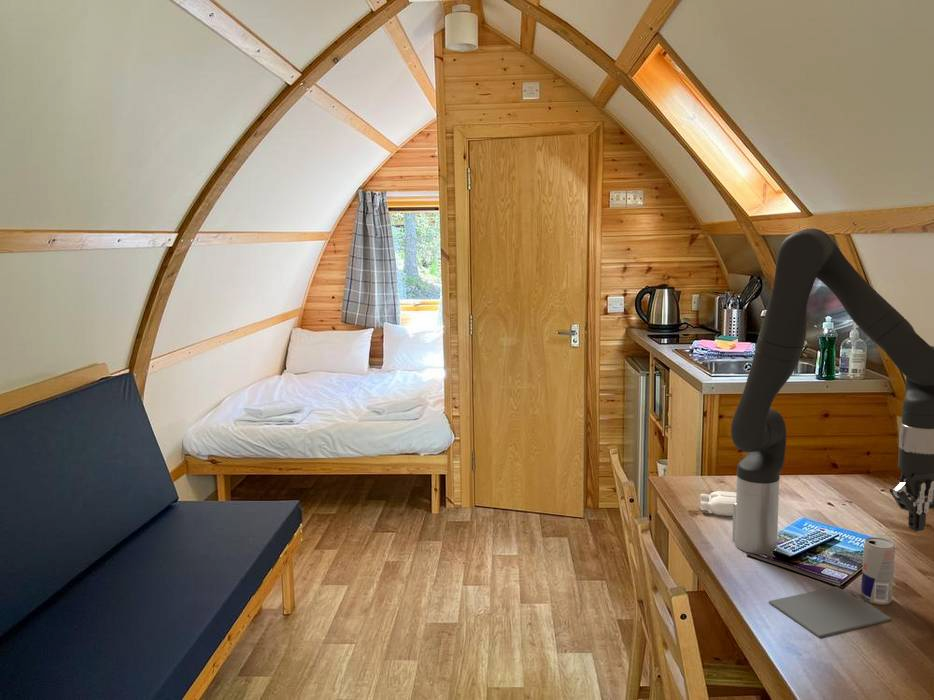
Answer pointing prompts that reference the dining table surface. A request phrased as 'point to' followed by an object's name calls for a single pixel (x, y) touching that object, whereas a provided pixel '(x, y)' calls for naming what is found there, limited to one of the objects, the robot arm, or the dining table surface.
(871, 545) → the energy drink
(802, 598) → the rubber mat
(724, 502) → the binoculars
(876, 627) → the dining table surface
